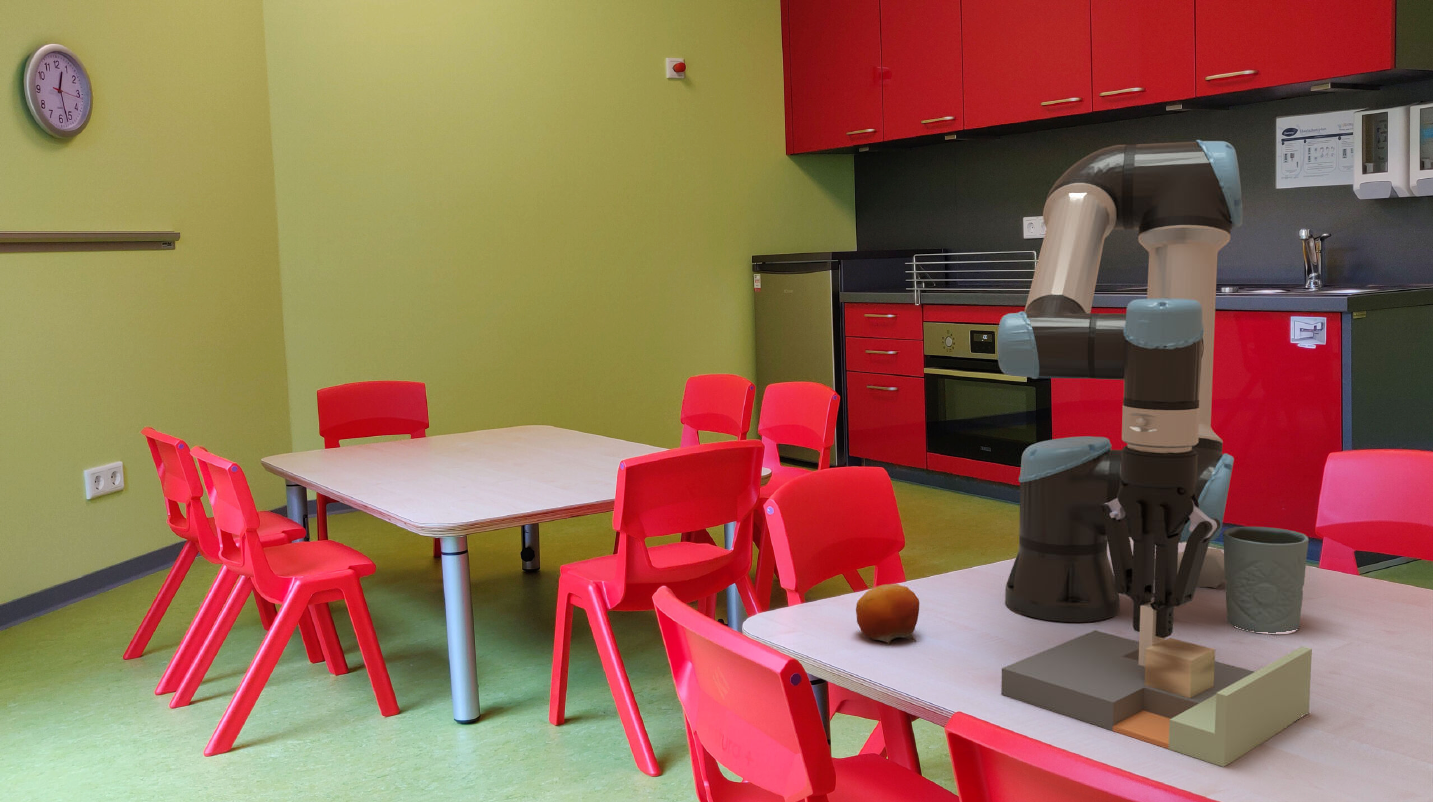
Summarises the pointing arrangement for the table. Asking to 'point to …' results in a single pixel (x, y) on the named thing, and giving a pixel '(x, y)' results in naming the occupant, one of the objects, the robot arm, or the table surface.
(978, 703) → the table surface
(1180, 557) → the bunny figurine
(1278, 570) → the embossed grey cup
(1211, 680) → the block
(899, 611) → the fruit
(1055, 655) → the box
